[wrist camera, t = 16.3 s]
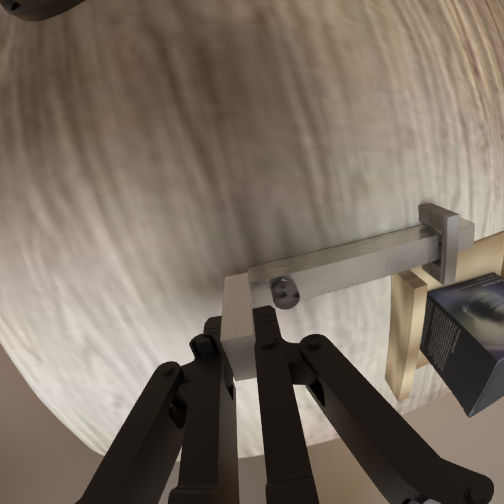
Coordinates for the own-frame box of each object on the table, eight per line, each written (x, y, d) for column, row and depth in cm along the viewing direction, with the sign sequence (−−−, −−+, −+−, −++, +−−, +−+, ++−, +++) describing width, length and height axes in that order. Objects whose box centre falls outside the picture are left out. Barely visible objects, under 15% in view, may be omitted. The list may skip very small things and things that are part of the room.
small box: (495, 267, 21) (562, 315, 11) (481, 319, 23) (535, 372, 13) (424, 287, 20) (501, 361, 11) (412, 346, 23) (466, 422, 13)
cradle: (389, 212, 18) (416, 225, 15) (510, 185, 18) (535, 193, 15) (385, 378, 25) (398, 402, 21) (490, 327, 24) (506, 342, 21)
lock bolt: (247, 267, 19) (249, 291, 16) (456, 215, 19) (482, 227, 16) (253, 292, 20) (256, 319, 17) (456, 237, 20) (480, 251, 16)
